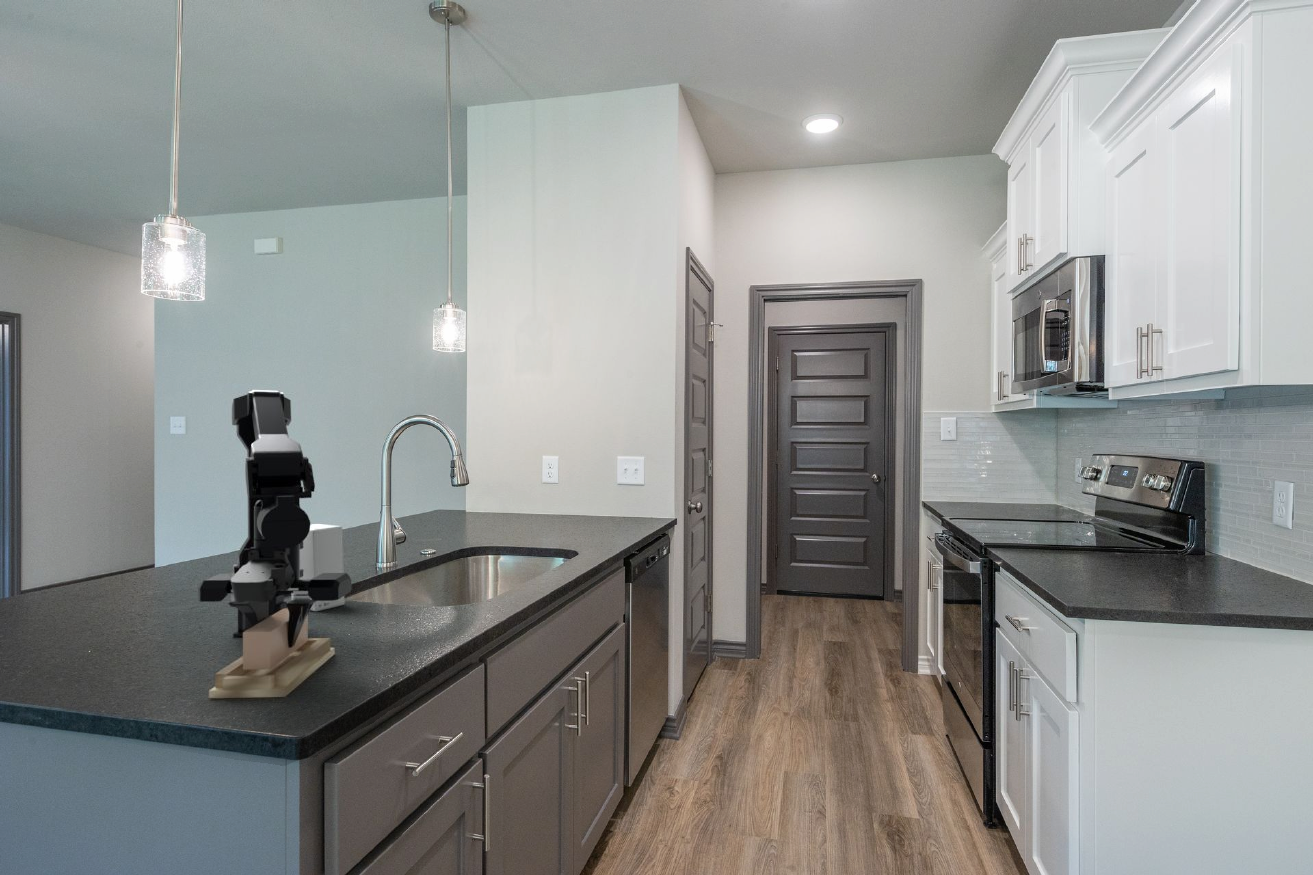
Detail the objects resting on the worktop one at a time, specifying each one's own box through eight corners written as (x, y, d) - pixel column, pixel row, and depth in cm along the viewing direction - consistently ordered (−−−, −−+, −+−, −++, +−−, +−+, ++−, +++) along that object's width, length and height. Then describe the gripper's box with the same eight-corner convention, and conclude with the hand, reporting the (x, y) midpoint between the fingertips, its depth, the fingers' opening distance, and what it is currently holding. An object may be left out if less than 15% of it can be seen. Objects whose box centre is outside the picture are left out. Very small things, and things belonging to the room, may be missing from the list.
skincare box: (345, 605, 137) (345, 525, 137) (313, 612, 132) (313, 530, 131) (320, 599, 142) (320, 522, 142) (288, 606, 136) (287, 526, 136)
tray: (208, 698, 91) (208, 676, 91) (270, 654, 108) (270, 636, 108) (285, 696, 92) (285, 675, 92) (334, 653, 109) (334, 635, 109)
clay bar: (242, 669, 94) (242, 632, 94) (283, 641, 106) (283, 608, 106) (270, 669, 94) (270, 632, 94) (307, 641, 106) (307, 608, 106)
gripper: (173, 548, 91) (173, 667, 91) (322, 547, 92) (322, 665, 93) (220, 534, 102) (220, 641, 102) (352, 534, 103) (352, 639, 104)
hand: (277, 646), depth 100 cm, fingers closed on clay bar, 3 cm apart
